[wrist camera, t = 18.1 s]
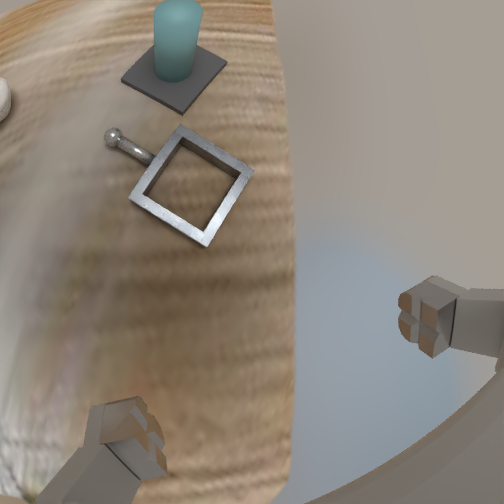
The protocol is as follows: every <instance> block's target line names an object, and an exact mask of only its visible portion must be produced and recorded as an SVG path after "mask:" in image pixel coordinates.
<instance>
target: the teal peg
mask: <svg viewBox="0 0 504 504" xmlns="http://www.w3.org/2000/svg"><path fill="white" fill-rule="evenodd" d="M202 13H203V10H202V7H201V5H200V4H199V3H198V2H196V1H194V0H166V1H163V2H162V3H160V4H159V5H158V6H157V7H156V8H155V10H154V55H155V73H156V75H157V76H158V78H160V79H161V80H163V81H165V82H171V83H174V82H180V81H182V80H184V79H186V78H187V77H188V76H189V75H190V74H191V72H192V69H193V63H194V56H195V51H196V45H197V39H198V34H199V28H200V23H201V18H202Z"/></svg>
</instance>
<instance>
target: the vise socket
mask: <svg viewBox="0 0 504 504" xmlns="http://www.w3.org/2000/svg"><path fill="white" fill-rule="evenodd" d="M104 141H105V143H106V144H107V145H109V146H118V147H119V148H121V149H123V150H124V151H126V152H128V153H129V154H131V155H133V156H134V157H136V158H137V159H139V160H141V161H142V162H144V163H146V164H147V165H149V167H148V169H147V170H146V172H145V173H144V174H143V176H142V177H141V179H140V180H139V182H138V183H137V185H136V186H135V188H134V190H133V191H132V193H131V194H130V196H129V197H128V198H129V199H130V201H131V202H132V203H134V204H136V205H137V206H139V207H140V208H142V209H143V210H145V211H147V212H148V213H150V214H151V215H153V216H155V217H156V218H158V219H159V220H161V221H163V222H164V223H166V224H167V225H169V226H171V227H172V228H174V229H175V230H177V231H179V232H180V233H182V234H183V235H185V236H187V237H188V238H190V239H192V240H193V241H195V242H196V243H198V244H200V245H201V246H203V247H207V246H208V245H209V243H210V241H211V240H212V238H213V236H214V235H215V233H216V231H217V230H218V228H219V227H220V225H221V223H222V222H223V220H224V218H225V217H226V215H227V214H228V212H229V210H230V209H231V207H232V205H233V204H234V202H235V201H236V199H237V197H238V196H239V194H240V193H241V191H242V190H243V188H244V186H245V185H246V183H247V182H248V180H249V179H250V177H251V175H252V174H253V172H254V171H255V170H253V169H252V168H250V167H249V166H247V165H245V164H244V163H242V162H241V161H239V160H238V159H236V158H235V157H233V156H231V155H230V154H228V153H227V152H225V151H224V150H222V149H220V148H219V147H217V146H216V145H214V144H212V143H211V142H209V141H208V140H206V139H204V138H203V137H201V136H199V135H198V134H196V133H194V132H193V131H191V130H189V129H188V128H186V127H184V126H183V125H181V124H180V125H179V126H178V127H177V129H176V130H175V131H174V133H173V134H172V135H171V137H170V138H169V139H168V141H167V142H166V143H165V145H164V146H163V147H162V149H161V150H160V152H159V153H158V154H157V156H156V155H154V154H152V153H151V152H149V151H147V150H146V149H144V148H142V147H141V146H139V145H137V144H136V143H134V142H132V141H131V140H129V139H127V138H126V137H124V136H122V132H121V131H120V130H119V129H118V128H110V129H108V130H107V131H106V132H105V135H104ZM181 145H183V146H185V147H186V148H188V149H190V150H191V151H193V152H194V153H196V154H198V155H199V156H201V157H203V158H204V159H206V160H207V161H209V162H211V163H212V164H214V165H215V166H217V167H219V168H220V169H222V170H223V171H225V172H226V173H228V174H230V175H231V176H233V177H234V178H236V180H235V181H234V183H233V185H232V186H231V188H230V189H229V191H228V192H227V194H226V195H225V197H224V199H223V200H222V202H221V203H220V205H219V206H218V208H217V210H216V211H215V213H214V214H213V216H212V218H211V219H210V221H209V223H208V224H207V226H206V227H205V229H204V231H203V232H202V231H200V230H199V229H197V228H196V227H194V226H192V225H191V224H189V223H188V222H186V221H184V220H183V219H181V218H180V217H178V216H176V215H175V214H173V213H172V212H170V211H168V210H167V209H165V208H164V207H162V206H160V205H159V204H157V203H156V202H154V201H152V200H151V199H149V198H148V197H146V196H147V195H148V193H149V191H150V190H151V188H152V187H153V185H154V184H155V182H156V181H157V179H158V178H159V176H160V175H161V173H162V172H163V171H164V169H165V168H166V166H167V165H168V163H169V162H170V161H171V159H172V158H173V156H174V155H175V153H176V152H177V151H178V149H179V148H180V147H181Z"/></svg>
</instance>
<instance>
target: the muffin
mask: <svg viewBox="0 0 504 504" xmlns="http://www.w3.org/2000/svg"><path fill="white" fill-rule="evenodd" d="M10 108H11V91H10V87H9V84H8V82H7V80H5V79H4V78H0V121H2V120H3V119H4V118H5V117H6V116H7V115H8V113H9V111H10Z"/></svg>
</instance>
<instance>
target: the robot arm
mask: <svg viewBox="0 0 504 504" xmlns="http://www.w3.org/2000/svg"><path fill="white" fill-rule="evenodd" d="M398 306H399V307H400V309H401V310H402V311H401V313H400V315H399V318H398V320H399V321H398V323H399V329H400V331H401V334H402V335H403V336H404V337H405V339H406V340H408V341H409V342H412V343H418V346H419V349H420V350H421V351H423V352H424V353H426V354H427V355H428V356H430V357H431V358H434V357H436V356H437V355H439V354H440V353H441V352H443V351H444V350H446V349H447V348H449V347H451V348H454V349H459V350H464V351H468V352H472V353H477V354H481V355H486V356H491V357H496V358H498V360H497V363H496V366H495V372H497V373H496V374H495V375H494V376H493V377H492V378H491V379H490V380H489V381H488V382H487V383H486V384H485V385H484V386H483V387H482V388H481V389H480V390H479V391H478V392H477V393H476V394H475V395H474V396H473V397H472V398H471V399H470V400H468V401H467V402H466V403H465V404H464V405H463V406H462V407H461V408H459V409H458V410H457V411H456V412H455V413H454V414H452V415H451V416H450V417H449V418H448V419H446V420H445V421H444V422H443V423H441V424H440V425H439V426H438V427H436V428H435V429H434V430H432V431H431V432H430V433H428V434H427V435H426V436H424V437H423V438H422V439H420V440H419V441H417V442H416V443H415V444H413V445H412V446H410V447H409V448H407V449H406V450H404V451H403V452H401V453H400V454H398V455H397V456H395V457H394V458H392V459H390V460H389V461H387V462H386V463H384V464H382V465H381V466H379V467H377V468H376V469H374V470H372V471H370V472H369V473H367V474H365V475H363V476H361V477H360V478H358V479H356V480H354V481H352V482H350V483H348V484H346V485H344V486H342V487H340V488H338V489H336V490H334V491H332V492H330V493H328V494H326V495H323V496H321V497H319V498H317V499H314V500H312V501H310V502H307V503H305V504H504V289H474V288H471V289H469V290H467V289H465V288H463V287H460V286H458V285H456V284H454V283H452V282H450V281H447V280H445V279H443V278H441V277H438V276H431V277H429V278H427V279H426V280H424V281H423V282H422V283H420V284H418V285H416V286H414V287H413V288H411V289H409V290H407V291H405V292H403V293H402V294H400V296H399V299H398ZM164 445H165V444H164V437H163V433H162V430H161V427H160V425H159V423H158V421H157V420H156V418H155V417H154V416H153V415H151V414H149V413H147V405H146V404H145V402H144V401H143V399H142V398H141V397H139V396H136V397H132V398H127V399H123V400H118V401H113V402H108V403H104V404H99V405H95V406H92V407H91V408H90V411H89V416H88V422H87V427H86V433H85V439H84V445H83V447H81V448H78V449H77V451H76V452H75V453H74V454H73V455H72V456H71V458H70V459H69V460H68V461H67V462H66V464H65V465H64V466H63V467H62V468H61V470H60V471H59V472H58V473H57V474H56V475H55V477H54V478H53V479H52V480H51V481H50V483H49V484H48V485H47V486H46V487H45V489H44V490H43V491H42V492H41V493H40V494H39V496H38V497H37V498H36V500H35V504H131V502H132V500H133V498H134V496H135V494H136V492H137V490H138V488H139V486H140V484H141V480H146V479H151V478H156V477H161V476H165V475H168V470H167V462H166V456H165V455H164V454H163V453H162V451H161V450H162V448H163V447H164Z"/></svg>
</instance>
